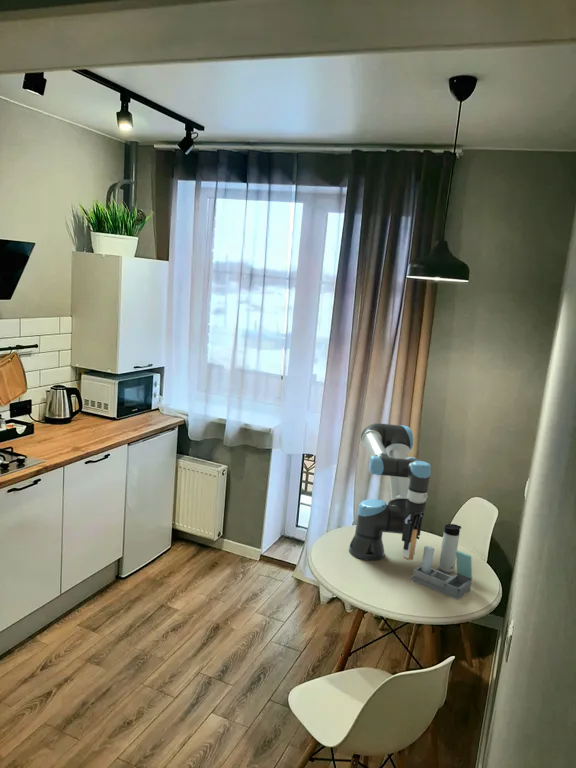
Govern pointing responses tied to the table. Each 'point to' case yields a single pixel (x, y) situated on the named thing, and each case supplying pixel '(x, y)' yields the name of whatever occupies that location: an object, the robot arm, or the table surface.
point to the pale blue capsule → (427, 560)
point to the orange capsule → (412, 545)
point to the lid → (464, 564)
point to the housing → (443, 582)
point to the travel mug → (449, 548)
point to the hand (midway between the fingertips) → (408, 554)
